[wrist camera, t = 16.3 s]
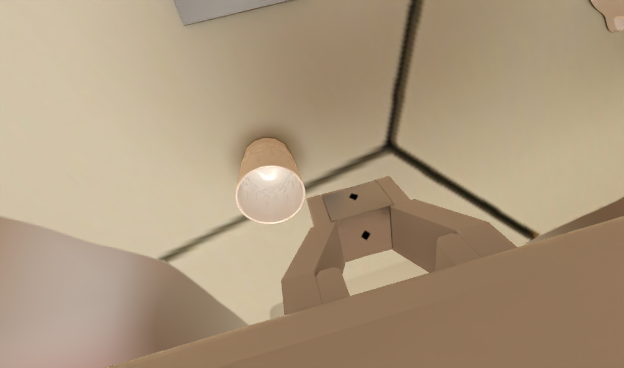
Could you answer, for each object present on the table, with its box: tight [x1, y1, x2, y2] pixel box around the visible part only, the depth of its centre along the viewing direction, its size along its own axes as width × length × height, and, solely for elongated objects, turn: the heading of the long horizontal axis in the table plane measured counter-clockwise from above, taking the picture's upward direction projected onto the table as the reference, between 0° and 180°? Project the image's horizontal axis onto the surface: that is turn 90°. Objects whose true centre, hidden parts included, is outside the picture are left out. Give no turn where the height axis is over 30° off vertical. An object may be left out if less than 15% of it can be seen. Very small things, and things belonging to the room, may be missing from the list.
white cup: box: [235, 138, 305, 224], centre depth 36 cm, size 8×8×10 cm
